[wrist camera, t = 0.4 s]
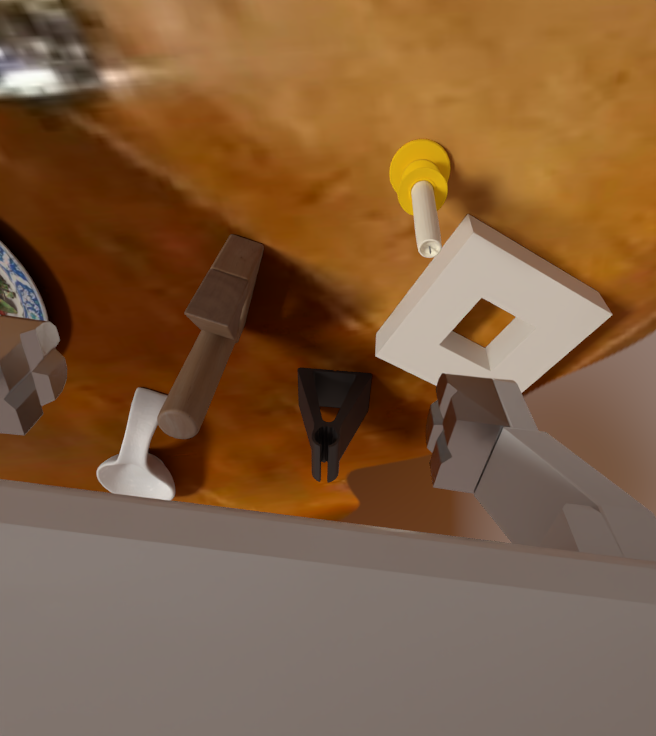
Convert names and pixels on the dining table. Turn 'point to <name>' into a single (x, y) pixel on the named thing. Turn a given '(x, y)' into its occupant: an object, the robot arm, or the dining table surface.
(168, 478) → the spoon rest
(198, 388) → the wooden block
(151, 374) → the dining table surface
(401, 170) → the candle
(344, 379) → the phone stand
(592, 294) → the hole board
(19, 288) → the ceramic plate
